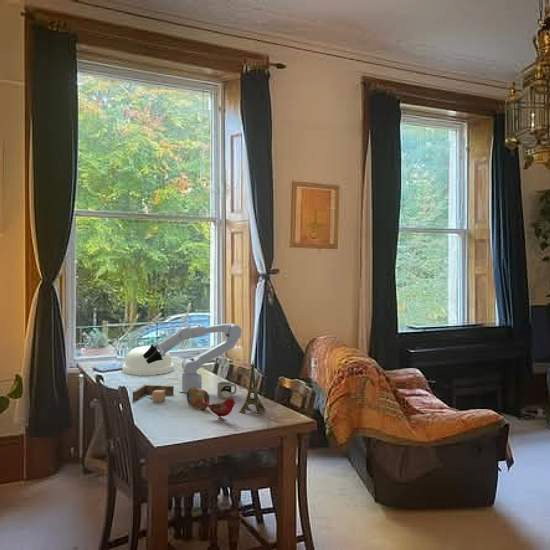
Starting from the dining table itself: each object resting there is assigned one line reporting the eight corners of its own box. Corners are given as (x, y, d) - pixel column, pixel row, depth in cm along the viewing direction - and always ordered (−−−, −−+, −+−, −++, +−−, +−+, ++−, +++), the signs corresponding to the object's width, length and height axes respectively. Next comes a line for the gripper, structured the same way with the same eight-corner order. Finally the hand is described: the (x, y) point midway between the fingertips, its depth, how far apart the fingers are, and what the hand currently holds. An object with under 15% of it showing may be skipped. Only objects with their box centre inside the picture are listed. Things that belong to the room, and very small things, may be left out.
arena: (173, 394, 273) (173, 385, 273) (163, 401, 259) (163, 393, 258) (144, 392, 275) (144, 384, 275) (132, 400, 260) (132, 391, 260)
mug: (221, 399, 265) (221, 385, 264) (215, 396, 270) (215, 382, 270) (239, 396, 270) (239, 383, 270) (233, 393, 276) (233, 380, 275)
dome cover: (131, 364, 347) (131, 342, 346) (179, 365, 345) (179, 343, 345) (114, 375, 315) (114, 350, 314) (167, 376, 313) (167, 352, 313)
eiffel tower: (238, 413, 241) (238, 356, 240) (242, 407, 251) (243, 352, 250) (262, 415, 239) (262, 357, 239) (265, 408, 250) (266, 353, 249)
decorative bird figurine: (233, 423, 226) (234, 399, 226) (198, 417, 235) (198, 393, 235) (237, 421, 229) (237, 397, 229) (202, 415, 237) (202, 392, 237)
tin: (186, 404, 255) (186, 386, 255) (192, 403, 257) (192, 385, 257) (204, 411, 244) (204, 392, 243) (210, 410, 246) (210, 391, 245)
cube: (165, 399, 263) (165, 390, 263) (161, 402, 258) (161, 392, 258) (155, 399, 263) (155, 389, 263) (152, 401, 259) (152, 392, 259)
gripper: (161, 333, 281) (138, 348, 277) (168, 341, 268) (144, 358, 264) (168, 344, 283) (145, 359, 280) (175, 353, 270) (151, 369, 267)
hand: (145, 359), depth 272 cm, fingers open, 7 cm apart
